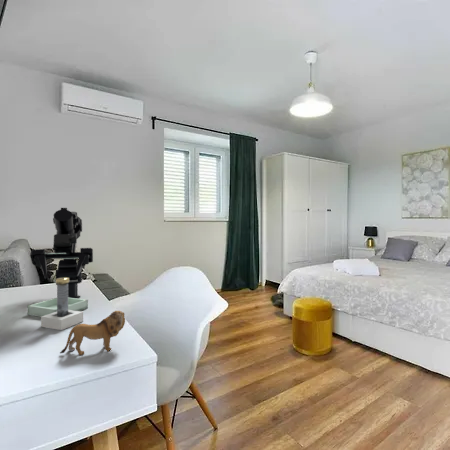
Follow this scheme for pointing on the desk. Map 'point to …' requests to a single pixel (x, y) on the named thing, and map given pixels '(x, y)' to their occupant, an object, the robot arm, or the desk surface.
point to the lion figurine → (96, 331)
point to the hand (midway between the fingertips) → (61, 276)
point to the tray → (51, 306)
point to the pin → (62, 296)
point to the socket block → (61, 320)
